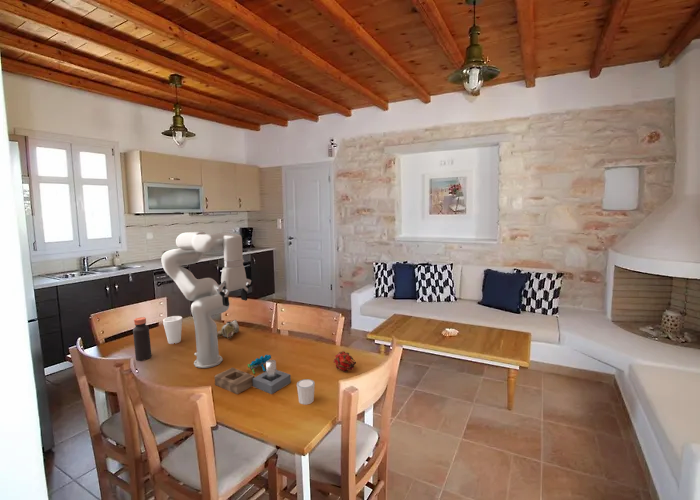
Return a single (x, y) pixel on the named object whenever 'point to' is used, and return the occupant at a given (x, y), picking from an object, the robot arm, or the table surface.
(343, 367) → the dragon fruit
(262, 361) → the gear
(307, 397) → the white fluted cup
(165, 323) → the foam cup
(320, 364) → the table surface
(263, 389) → the socket block
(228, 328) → the ceramic sculpture
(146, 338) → the bottle
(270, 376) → the axle
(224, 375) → the brown rectangular frame
